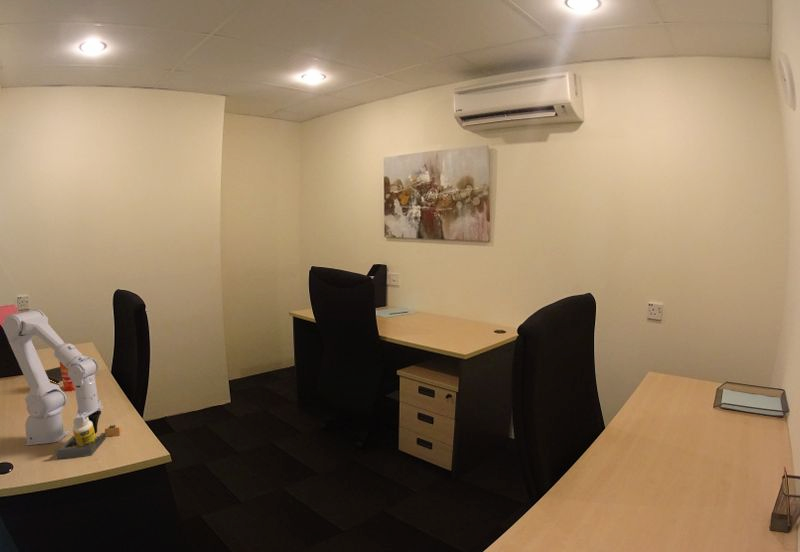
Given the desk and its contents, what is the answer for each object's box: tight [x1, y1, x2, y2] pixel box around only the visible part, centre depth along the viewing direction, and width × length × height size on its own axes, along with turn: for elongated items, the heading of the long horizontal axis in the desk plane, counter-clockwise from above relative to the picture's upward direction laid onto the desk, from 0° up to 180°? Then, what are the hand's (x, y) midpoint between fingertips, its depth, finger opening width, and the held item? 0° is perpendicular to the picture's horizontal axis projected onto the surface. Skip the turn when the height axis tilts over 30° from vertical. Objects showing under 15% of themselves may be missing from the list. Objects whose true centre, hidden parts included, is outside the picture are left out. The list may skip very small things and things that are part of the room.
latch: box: [104, 424, 122, 437], centre depth 154 cm, size 4×1×3 cm, turn 104°
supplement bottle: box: [72, 416, 97, 446], centre depth 146 cm, size 5×5×10 cm
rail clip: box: [55, 432, 106, 460], centre depth 146 cm, size 10×14×3 cm, turn 14°
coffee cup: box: [57, 359, 75, 392], centre depth 197 cm, size 8×8×15 cm
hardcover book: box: [44, 366, 63, 384], centre depth 215 cm, size 16×23×2 cm
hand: (92, 434), depth 150 cm, fingers closed, pressing on supplement bottle
